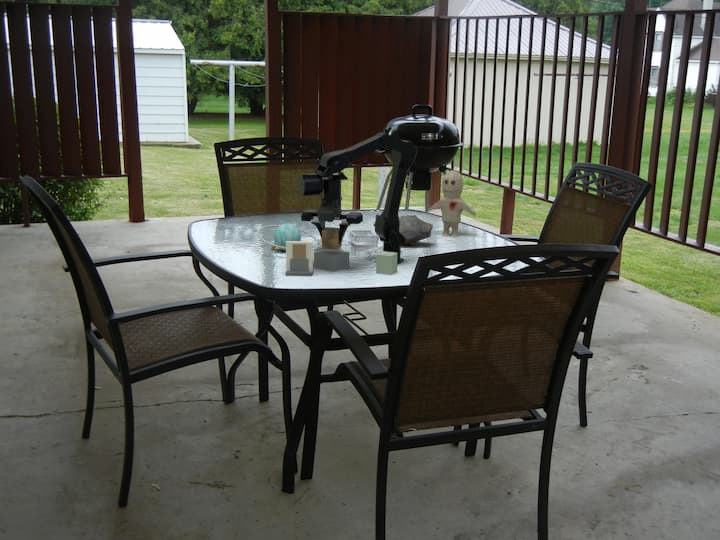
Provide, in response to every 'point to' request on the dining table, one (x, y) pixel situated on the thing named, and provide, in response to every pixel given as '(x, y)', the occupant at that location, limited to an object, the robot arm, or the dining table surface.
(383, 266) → the sage block
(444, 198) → the toy
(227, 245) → the dining table surface
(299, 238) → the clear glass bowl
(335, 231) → the walnut block
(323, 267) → the slate base
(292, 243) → the plaque
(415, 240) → the stone
